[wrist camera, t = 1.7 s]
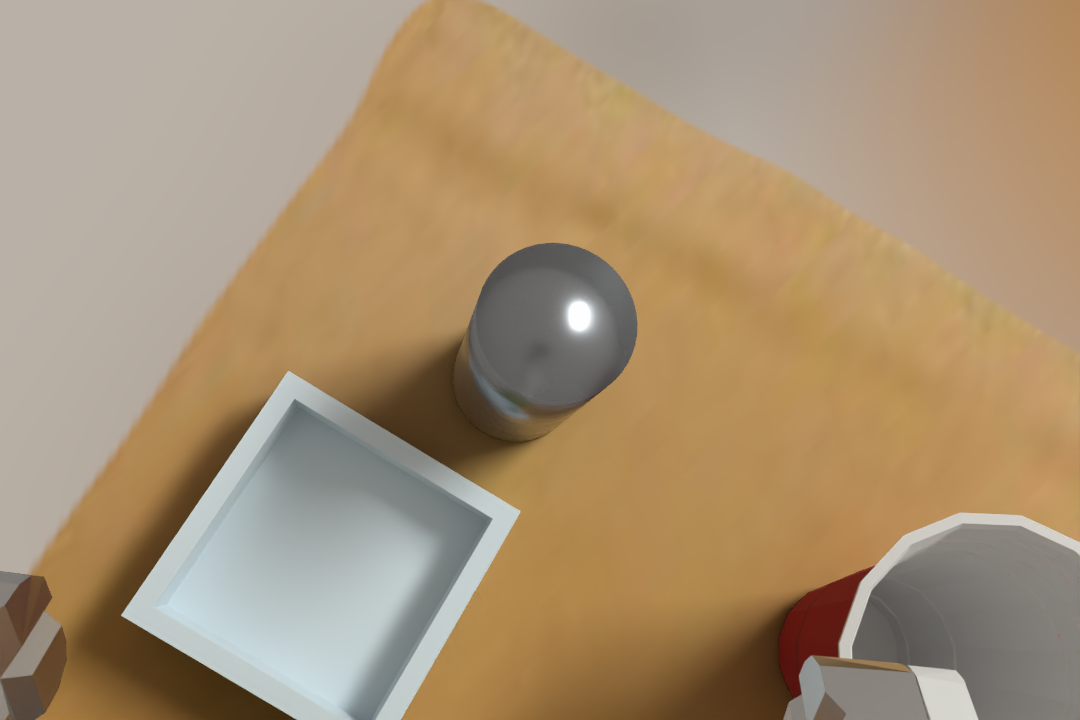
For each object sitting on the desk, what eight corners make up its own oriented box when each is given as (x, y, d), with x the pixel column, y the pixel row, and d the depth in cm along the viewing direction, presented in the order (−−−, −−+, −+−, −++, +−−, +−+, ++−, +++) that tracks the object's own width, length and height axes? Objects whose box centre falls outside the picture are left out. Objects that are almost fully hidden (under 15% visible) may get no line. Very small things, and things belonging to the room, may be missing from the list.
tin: (537, 465, 41) (588, 433, 31) (428, 399, 40) (444, 345, 31) (598, 360, 42) (664, 297, 32) (493, 295, 42) (528, 213, 32)
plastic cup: (739, 499, 42) (877, 473, 30) (961, 557, 43) (1176, 553, 31) (693, 755, 39) (825, 834, 28) (932, 810, 40) (1155, 908, 29)
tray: (374, 750, 37) (374, 765, 34) (140, 611, 37) (120, 615, 34) (510, 515, 40) (520, 511, 37) (294, 385, 40) (288, 370, 37)
